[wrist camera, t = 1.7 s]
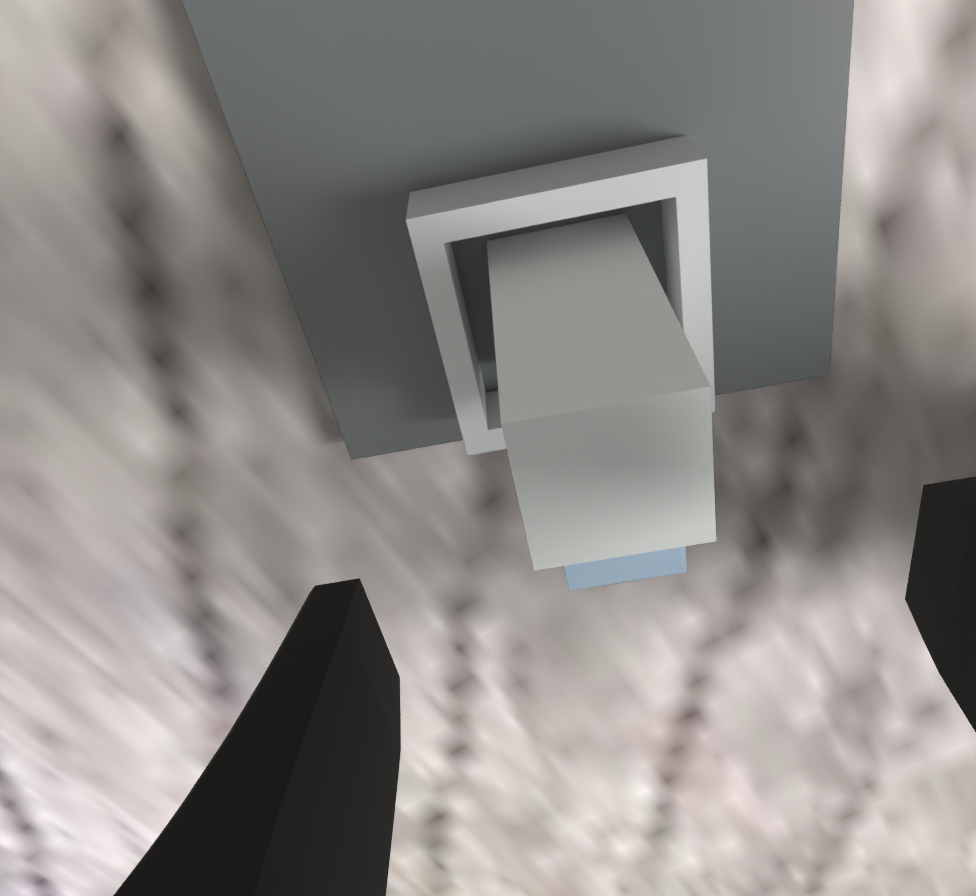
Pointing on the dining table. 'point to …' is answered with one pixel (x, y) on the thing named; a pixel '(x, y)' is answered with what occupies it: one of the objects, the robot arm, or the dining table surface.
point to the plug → (599, 405)
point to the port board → (533, 178)
